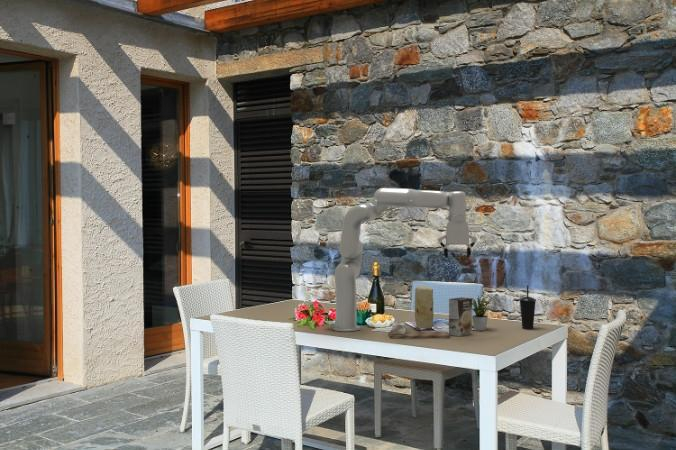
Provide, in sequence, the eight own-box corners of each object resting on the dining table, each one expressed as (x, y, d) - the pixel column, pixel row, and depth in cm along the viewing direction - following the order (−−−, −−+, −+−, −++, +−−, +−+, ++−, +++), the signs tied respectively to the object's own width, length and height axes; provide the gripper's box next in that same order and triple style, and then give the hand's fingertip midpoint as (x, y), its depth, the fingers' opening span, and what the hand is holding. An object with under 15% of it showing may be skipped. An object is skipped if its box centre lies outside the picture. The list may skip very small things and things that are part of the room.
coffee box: (459, 336, 323) (459, 300, 322) (448, 334, 327) (448, 298, 327) (472, 333, 329) (472, 298, 328) (461, 332, 334) (461, 296, 333)
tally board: (390, 338, 320) (389, 335, 319) (388, 334, 330) (388, 331, 329) (449, 338, 319) (449, 335, 319) (446, 333, 329) (446, 330, 329)
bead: (393, 334, 321) (393, 325, 321) (392, 331, 327) (392, 322, 327) (404, 334, 321) (404, 325, 321) (403, 331, 327) (403, 322, 327)
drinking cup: (517, 329, 339) (517, 286, 338) (521, 326, 346) (521, 284, 345) (534, 330, 335) (534, 286, 335) (537, 327, 342) (537, 285, 341)
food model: (436, 328, 342) (436, 286, 341) (429, 331, 337) (428, 287, 336) (418, 326, 348) (418, 284, 347) (411, 328, 343) (410, 286, 342)
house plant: (496, 333, 330) (496, 297, 329) (465, 332, 332) (465, 296, 332) (496, 327, 343) (496, 292, 343) (466, 326, 346) (466, 292, 346)
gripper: (438, 219, 324) (439, 258, 325) (478, 219, 324) (478, 257, 325) (436, 219, 332) (437, 256, 333) (475, 218, 332) (475, 256, 332)
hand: (457, 257), depth 329 cm, fingers open, 9 cm apart
